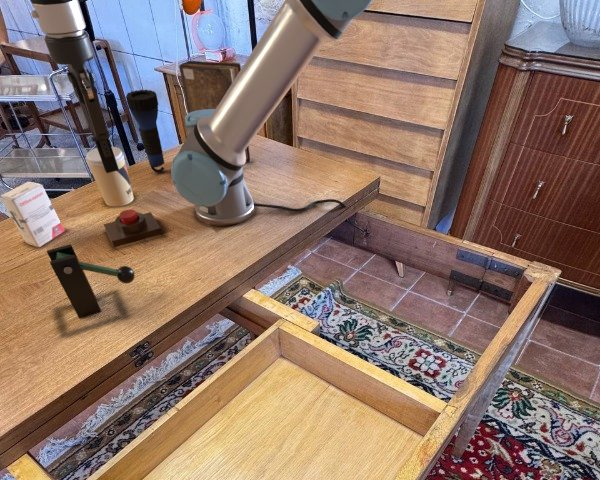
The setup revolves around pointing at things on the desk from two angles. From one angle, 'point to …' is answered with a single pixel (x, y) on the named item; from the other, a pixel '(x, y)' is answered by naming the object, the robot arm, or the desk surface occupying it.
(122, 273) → the lever
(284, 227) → the desk surface
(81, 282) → the bracket
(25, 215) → the ink box
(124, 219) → the button
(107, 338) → the desk surface
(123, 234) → the button block
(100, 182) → the coffee cup
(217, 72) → the book
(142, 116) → the flashlight
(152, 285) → the desk surface
